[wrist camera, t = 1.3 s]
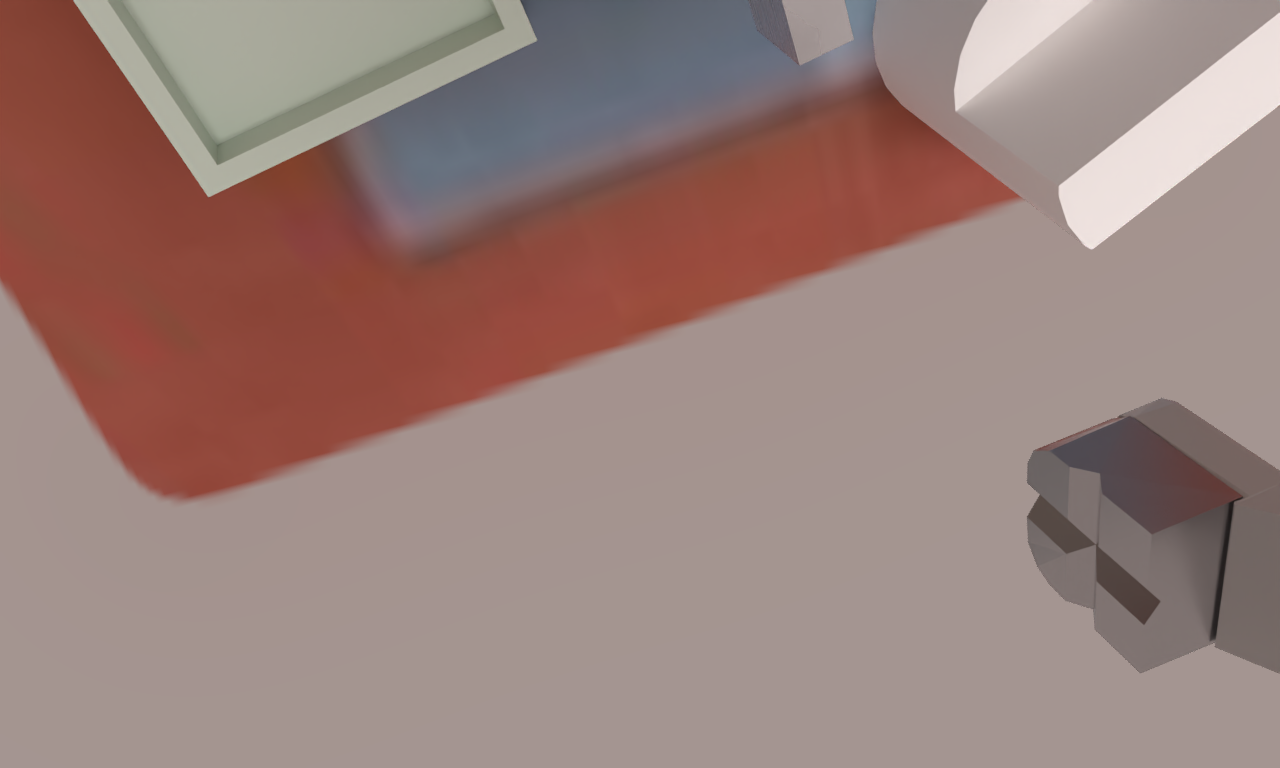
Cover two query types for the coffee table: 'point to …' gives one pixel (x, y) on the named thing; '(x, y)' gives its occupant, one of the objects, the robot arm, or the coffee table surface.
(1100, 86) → the cylinder with rectangular tab
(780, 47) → the grey square bar
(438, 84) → the tray
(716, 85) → the coffee table surface
